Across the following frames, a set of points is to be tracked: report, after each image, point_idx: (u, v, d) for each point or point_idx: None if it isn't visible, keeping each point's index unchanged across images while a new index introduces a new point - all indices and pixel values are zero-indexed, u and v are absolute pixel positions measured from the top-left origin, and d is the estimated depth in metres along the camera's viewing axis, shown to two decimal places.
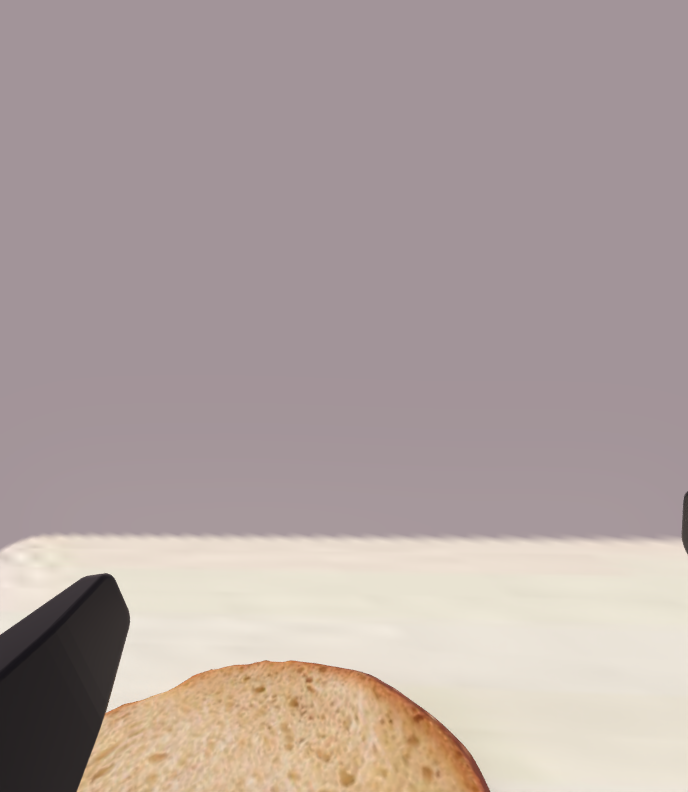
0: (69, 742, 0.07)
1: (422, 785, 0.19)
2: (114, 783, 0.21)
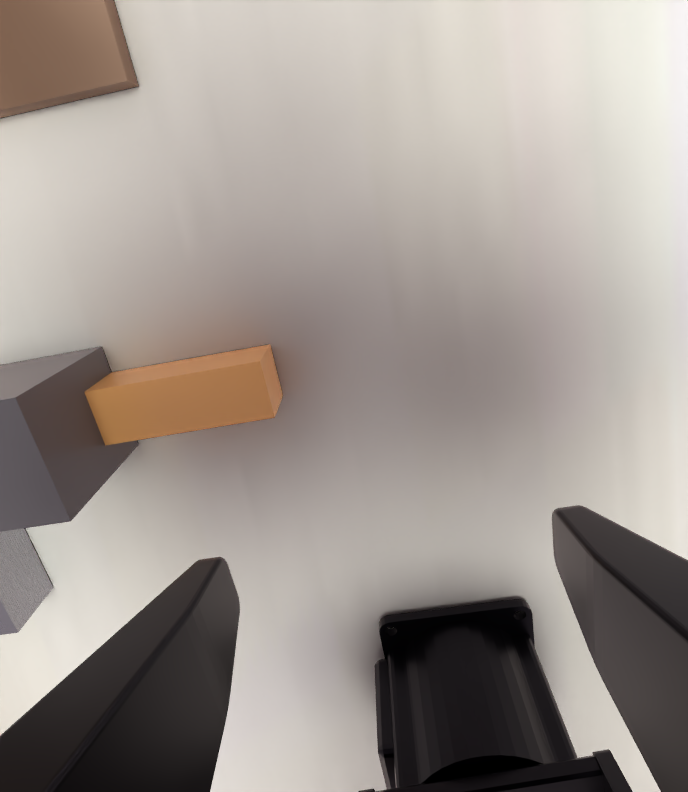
0: (206, 727, 0.07)
1: None
2: None
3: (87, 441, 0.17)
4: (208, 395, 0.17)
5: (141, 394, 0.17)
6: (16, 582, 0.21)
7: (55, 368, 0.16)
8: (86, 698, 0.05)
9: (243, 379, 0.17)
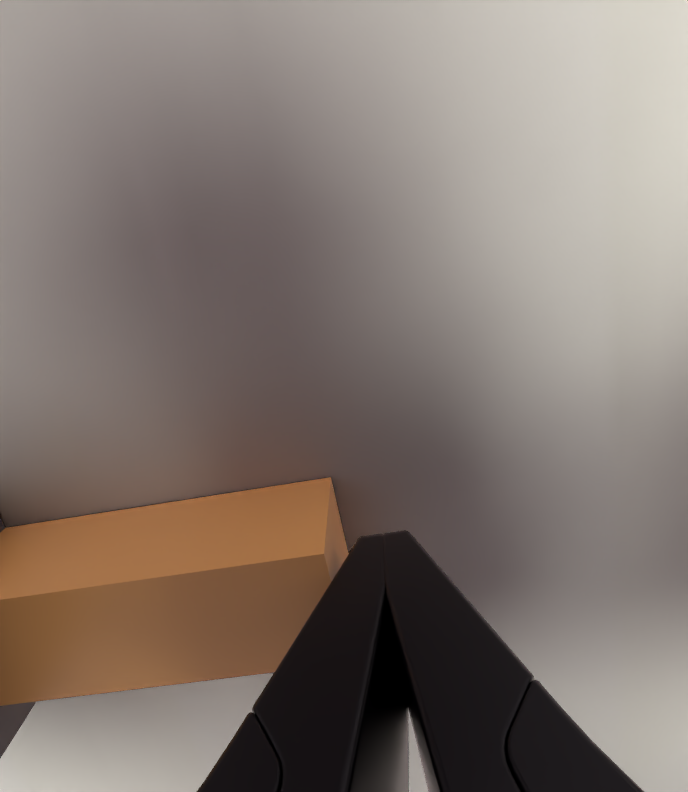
0: (402, 705, 0.06)
1: None
2: None
3: None
4: (201, 619, 0.07)
5: (48, 617, 0.07)
6: None
7: None
8: (329, 669, 0.05)
9: (283, 590, 0.07)
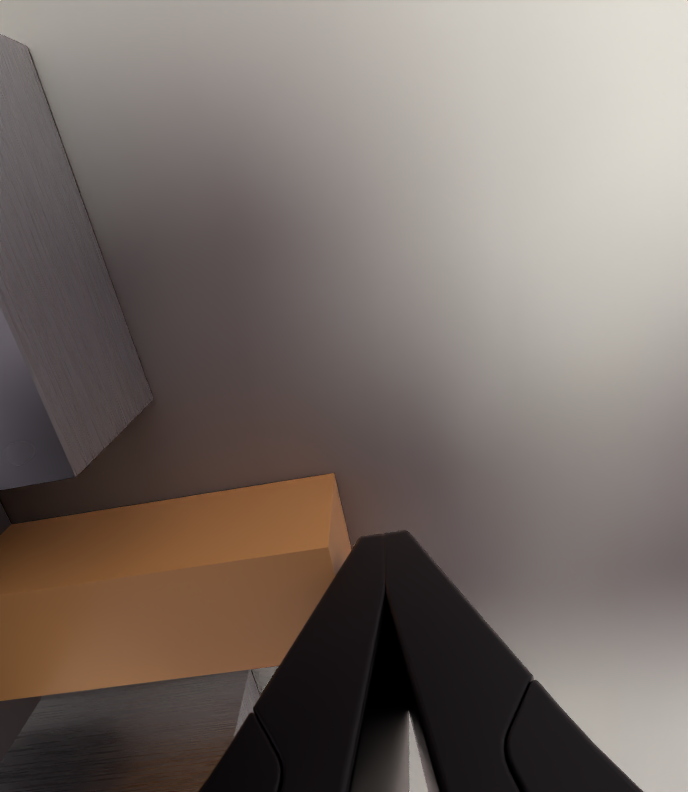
0: (402, 705, 0.06)
1: None
2: None
3: None
4: (207, 612, 0.07)
5: (55, 611, 0.07)
6: None
7: None
8: (329, 669, 0.05)
9: (287, 583, 0.07)
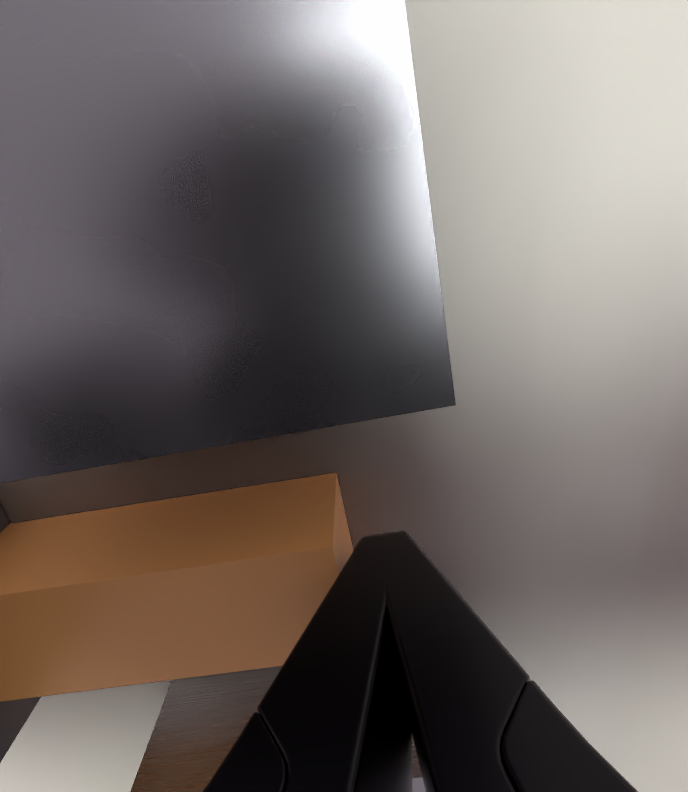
0: (405, 704, 0.06)
1: None
2: None
3: None
4: (209, 613, 0.07)
5: (56, 611, 0.07)
6: None
7: None
8: (333, 668, 0.05)
9: (291, 583, 0.07)
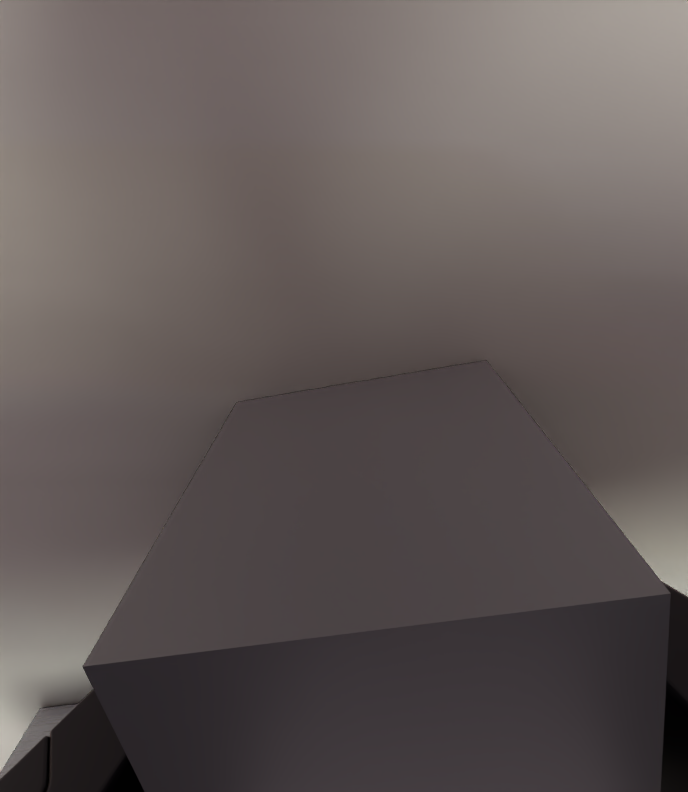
0: None
1: None
2: None
3: None
4: None
5: None
6: None
7: None
8: None
9: None
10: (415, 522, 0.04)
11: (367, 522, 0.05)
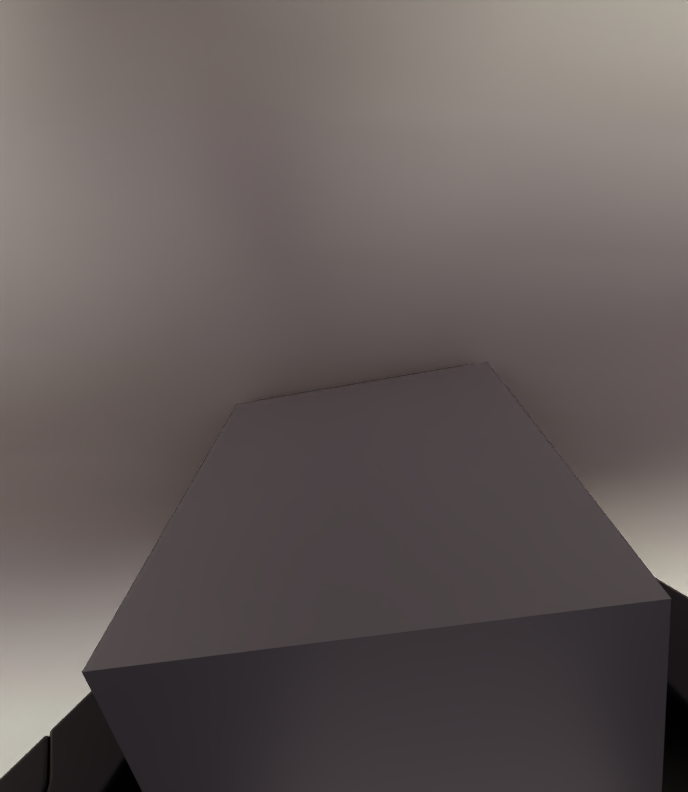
0: None
1: None
2: None
3: None
4: None
5: None
6: None
7: None
8: None
9: None
10: (415, 525, 0.04)
11: (367, 525, 0.05)
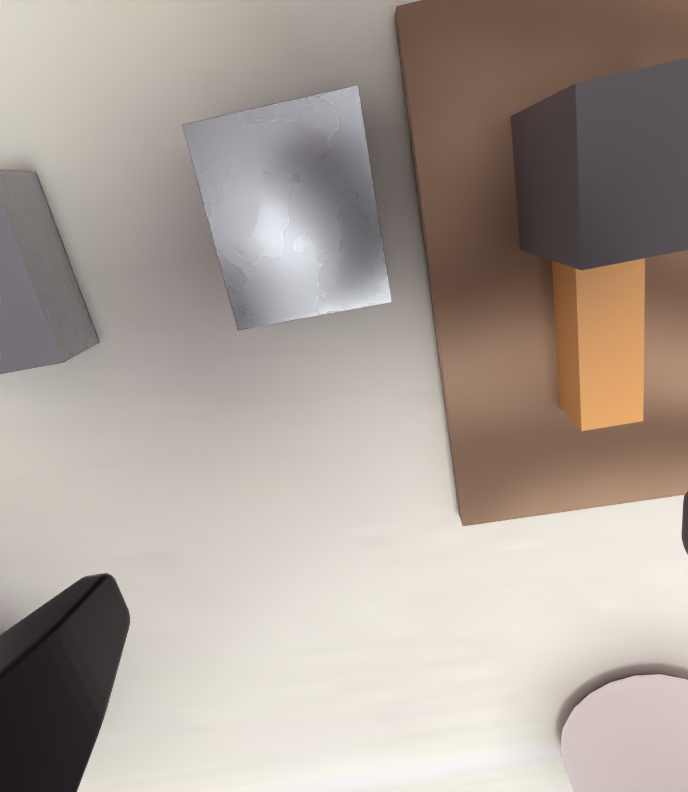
0: (69, 742, 0.07)
1: None
2: None
3: None
4: (617, 370, 0.16)
5: (630, 300, 0.16)
6: None
7: None
8: None
9: (627, 404, 0.17)
10: None
11: None
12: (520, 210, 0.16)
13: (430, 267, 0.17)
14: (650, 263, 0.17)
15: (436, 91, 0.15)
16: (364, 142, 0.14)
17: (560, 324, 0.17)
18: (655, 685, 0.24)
